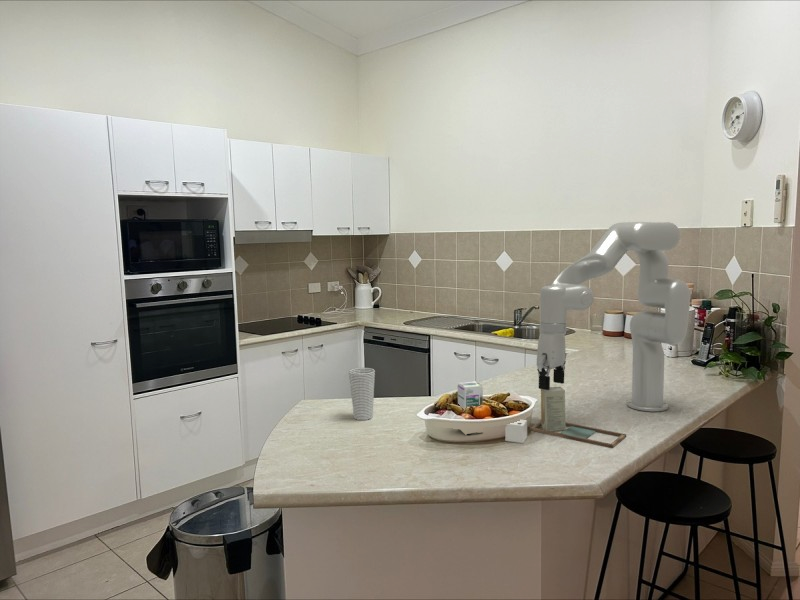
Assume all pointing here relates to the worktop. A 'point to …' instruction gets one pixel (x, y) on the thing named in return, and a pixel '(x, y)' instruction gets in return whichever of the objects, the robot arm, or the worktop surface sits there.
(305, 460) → the worktop surface
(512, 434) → the die
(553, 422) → the skincare box
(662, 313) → the robot arm
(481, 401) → the syrup box
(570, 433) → the wooden frame
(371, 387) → the cup
